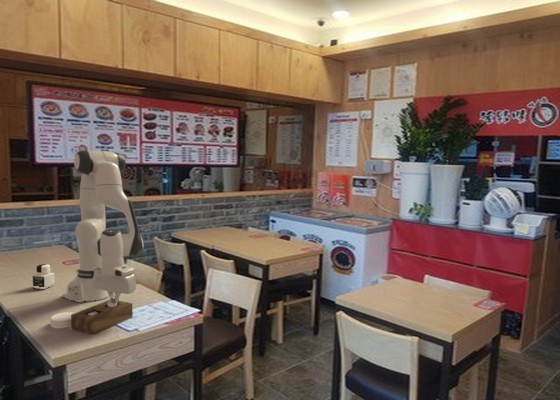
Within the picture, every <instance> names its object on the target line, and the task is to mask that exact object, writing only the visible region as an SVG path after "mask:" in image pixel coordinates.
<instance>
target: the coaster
mask: <svg viewBox="0 0 560 400" xmlns="http://www.w3.org/2000/svg"><path fill="white" fill-rule="evenodd" d="M74 313H76V311H75V312H74V311H66V312H65V311H64V312H59V313H56V314H54V315H52V316H51V317H50V318H49V321H50V322H49V323H50V327H51V328H53V329H55V330H57V329H58V330H59V329H67V328H72V326H71V315H72V314H74Z"/></svg>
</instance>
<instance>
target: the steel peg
mask: <svg viewBox="0 0 560 400" xmlns="http://www.w3.org/2000/svg"><path fill="white" fill-rule="evenodd" d="M107 301H108V300H107ZM114 306H117V302H112V301H108V307H114Z"/></svg>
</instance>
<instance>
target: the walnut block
mask: <svg viewBox="0 0 560 400" xmlns="http://www.w3.org/2000/svg"><path fill="white" fill-rule="evenodd" d="M108 301H110V299H108V300H106V301H103V302H101V303H97V304H96V305H93V306H90V307H87V308H84V309H82V310H80V311H76V312H75V313H74V314H72V315H71V330H72V331H77V332H80V333H85V334H89V335H93V336H95V335H97V334H99V333H101V332H103V331H106V330H108V329H110V328H112V327H114V326H116V325H118V324H120V323H122V322H126V321H127V320H129V319H132V318H133V303H132V302H127V301H122V300H119V301H118V302H117V306H114V307H108ZM94 311H95V312H98V313H97V314H95V315H93V316H92V315H88V313H89V312H94Z"/></svg>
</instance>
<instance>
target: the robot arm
mask: <svg viewBox="0 0 560 400" xmlns="http://www.w3.org/2000/svg"><path fill="white" fill-rule="evenodd" d="M73 164H74V169H75V170H76V171H77V172H78V173H79V174H81V178H80V183H79V185H80V186H79V187H80V188H79V207H80V209H79V210H80V218H81V220H80V221H79V222H78V223H77V224H76V227H75V230H74V234H75V238H76V244H77V249H78V256H79V258H78V259H79V269H76V270H75V272H76V273H77V275H76V276H75V278H74V279H72V280H71V281H70V282H69V283H68V284H67V289H66V292H64V293H62V294H61V297H62V296H64V297H67V298H69V299H71V300H74V301H76V302H75V303H77V302H79V303H85V302H84V301H86V302H94V301H95V300H96V301H100V300H103V299H107V298H108V297H109V298H110V299H109V300H110V301H112V302H118V301H120V298H119V297H120V296H121V294H127V295H131V294H133V293H134V292H135V291H136V288H137V284H136V276H135V274H134V273H135V268H134V267H132V266H130V265H128V264H126V263H125V260H124V257H126V256H128V257H137V256H139V255H140V254H141V253H142V252H143V251H144V247H145V246H144V240H143V237H142V235H141V232H140V228H139V225H138V220H137V215H136V212H135V209H134V205H133V201H132V200H131V198H130V197H129V196H127V195H126V194H125V192H124V189H123V181H122V180H123V179H122V176H121V175H122V173H124V171H125V170H126V164H127V162H126V157H125V156H124V155H123V154H122V153H119V152H114V151H113V152H111V151H107V150H87V149H85V150H79V151H77V152H76V154H75V156H74V158H73ZM106 207H107V208H111V209H114V210H117V211H119V212H121V213H123V214H124V215H125V219H126V222H127V226H128V230H129V232H128V233H122V231H121V230H119V229H115V228H110V229H106V228H107V227H106V226H107V225H106V224H107V223H106V222H107V221H106V220H107V219H106ZM65 293H67V294H65ZM69 299H68V300H69ZM71 300H70V301H71ZM74 301H73V302H74Z"/></svg>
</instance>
